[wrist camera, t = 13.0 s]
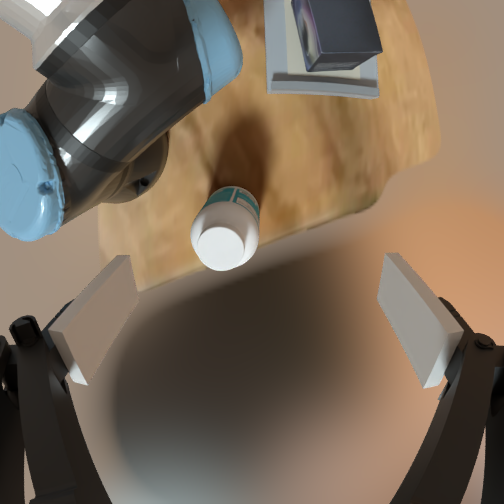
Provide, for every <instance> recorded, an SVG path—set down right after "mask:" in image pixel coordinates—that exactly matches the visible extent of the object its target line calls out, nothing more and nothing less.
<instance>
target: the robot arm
mask: <svg viewBox="0 0 504 504" xmlns="http://www.w3.org/2000/svg"><path fill="white" fill-rule="evenodd" d="M0 19H2V20H3V21H4V22H6V23H7V24H9V25H10V26H12V27H13V28H15V29H16V30H17V31H19V32H20V33H22V34H24V35H25V36H26V37H27V38H29V39H30V40H31V43H32V56H33V68H34V69H35V70H36V71H38V72H39V73H41V74H42V75H44V76H45V77H47V78H48V79H47V80H46V81H45V82H44V84H43V85H42V86H41V88H40V89H39V90H38V92H37V93H36V94H35V96H34V97H33V98H32V100H31V101H30V102H29V104H28V105H27V106H26V107H25V108H24V109H17V108H14V109H11V110H9V111H7V112H6V113H3V114H0V227H1V228H2V229H3V230H4V231H5V232H6V233H7V234H9V235H10V236H12V237H14V238H18V239H19V240H22V241H34V240H37V239H40V238H41V237H43V236H45V235H48V234H53V233H54V232H56V231H57V230H58V229H59V228H60V227H61V226H63V225H64V224H66V223H67V222H69V221H71V220H72V219H74V218H76V217H77V216H79V215H81V214H82V213H84V212H86V211H88V210H89V209H91V208H93V207H94V206H96V205H98V204H100V203H114V204H117V203H124V202H128V201H131V200H133V199H135V198H137V197H139V196H141V195H142V194H144V193H145V192H147V191H148V190H149V189H150V188H151V187H152V186H153V185H154V184H155V183H156V182H157V180H158V179H159V177H160V176H161V174H162V172H163V170H164V167H165V164H166V160H167V154H168V140H167V134H166V132H167V131H168V130H169V129H170V128H171V127H173V126H174V125H175V124H176V123H178V122H179V121H180V120H181V119H183V118H184V117H185V116H186V115H188V114H189V113H190V112H192V111H193V110H194V109H195V108H197V107H198V106H199V105H201V104H202V103H203V104H206V103H208V102H209V101H210V99H211V96H213V95H214V94H215V93H217V92H218V91H219V90H220V89H222V88H223V87H224V86H226V85H227V84H228V83H230V82H231V81H232V80H234V79H235V78H236V77H237V76H238V74H239V73H240V71H241V68H242V65H243V54H242V50H241V46H240V43H239V40H238V38H237V35H236V33H235V31H234V28H233V26H232V24H231V22H230V20H229V18H228V17H227V15H226V13H225V11H224V10H223V8H222V6H221V5H220V3H219V1H218V0H0ZM138 301H139V296H138V292H137V288H136V283H135V279H134V274H133V270H132V265H131V260H130V255H117V256H116V257H115V258H114V259H113V260H112V261H111V262H110V263H109V264H108V265H107V266H106V267H105V268H104V269H103V270H102V271H101V272H100V273H99V274H98V275H97V276H96V277H95V278H94V279H93V280H92V281H91V282H90V283H89V285H88V286H87V287H86V288H85V289H84V290H83V291H82V292H81V293H80V294H79V295H78V296H77V297H76V298H75V299H73V300H72V301H70V302H69V303H67V304H66V305H65V306H64V307H63V308H62V309H61V310H60V312H59V313H57V315H56V316H55V318H53V319H52V320H51V321H50V322H49V323H48V325H47V326H46V327H45V328H44V329H43V330H42V332H41V330H40V328H39V326H38V324H37V321H36V319H35V317H33V316H29V315H27V316H23V317H20V318H18V319H17V320H15V321H14V322H13V323H12V324H11V325H10V328H9V330H10V333H11V335H12V337H13V339H14V341H15V343H16V345H9V344H8V342H7V340H6V338H5V337H4V336H2V335H1V336H0V504H25V499H24V452H25V451H26V456H27V461H28V465H29V470H30V474H31V479H32V483H33V487H34V490H35V495H36V496H35V498H34V499H32V500H30V503H29V504H112V502H111V500H110V498H109V497H108V494H107V492H106V490H105V488H104V486H103V484H102V481H101V479H100V477H99V475H98V472H97V470H96V468H95V465H94V463H93V460H92V458H91V455H90V453H89V450H88V448H87V445H86V442H85V439H84V437H83V434H82V431H81V428H80V425H79V422H78V418H77V415H76V412H75V409H74V405H73V402H72V398H71V395H70V391H69V387H68V383H67V382H66V380H65V376H66V375H67V373H68V372H69V374H70V376H71V378H72V380H73V381H74V382H77V383H80V384H85V385H88V384H89V383H90V380H91V379H92V377H93V376H94V374H95V372H96V370H97V369H98V367H99V365H100V363H101V362H102V360H103V358H104V357H105V355H106V353H107V351H108V350H109V348H110V346H111V345H112V343H113V341H114V340H115V338H116V337H117V335H118V333H119V332H120V330H121V328H122V327H123V325H124V324H125V322H126V320H127V319H128V317H129V316H130V314H131V312H132V311H133V309H134V308H135V306H136V305H137V303H138ZM377 301H378V302H379V304H380V306H381V308H382V309H383V311H384V313H385V315H386V317H387V318H388V320H389V322H390V324H391V326H392V328H393V330H394V331H395V333H396V335H397V337H398V339H399V341H400V343H401V345H402V346H403V349H404V350H405V353H406V354H407V356H408V358H409V360H410V362H411V364H412V366H413V369H414V371H415V372H416V375H417V377H418V379H419V381H420V383H421V385H422V387H423V388H428V387H433V386H437V385H439V383H440V382H441V380H442V378H443V376H444V375H445V376H446V378H447V380H448V382H447V384H446V386H445V387H444V389H443V391H442V393H441V394H440V396H439V398H438V400H440V402H439V404H438V407H437V410H436V413H435V415H434V417H433V420H432V422H431V425H430V427H429V429H428V432H427V434H426V436H425V439H424V441H423V443H422V445H421V447H420V449H419V451H418V454H417V455H416V457H415V459H414V461H413V463H412V466H411V467H410V469H409V471H408V473H407V475H406V477H405V478H404V480H403V482H402V484H401V485H400V487H399V489H398V491H397V492H396V494H395V496H394V497H393V499H392V501H391V502H390V504H460V503H461V501H462V499H463V496H464V493H465V491H466V488H467V486H468V483H469V480H470V477H471V474H472V472H473V468H474V465H475V462H476V459H477V456H478V452H479V449H480V445H481V441H482V437H483V433H484V428H486V446H485V447H486V448H485V469H484V481H483V491H482V499H481V504H504V346H497V345H496V344H495V342H494V341H493V340H492V339H491V338H490V337H489V336H487V335H485V334H481V333H474V332H473V330H472V329H471V328H470V327H469V325H468V324H467V323H466V322H465V321H464V319H463V318H462V317H460V314H459V313H458V312H457V311H456V309H455V308H454V307H453V306H452V305H451V304H450V303H449V302H448V301H446V300H445V299H443V298H442V297H437V296H436V295H435V294H434V293H433V291H432V290H431V289H430V288H429V287H428V286H427V284H426V283H425V282H424V281H423V280H422V279H421V278H420V276H419V275H418V274H417V273H416V272H415V271H414V270H413V269H412V267H411V266H410V265H409V264H408V263H407V262H406V261H405V260H404V259H403V258H402V256H401V255H400V254H399V253H385V257H384V263H383V269H382V274H381V280H380V286H379V290H378V296H377ZM2 382H3V383H4V385H5V388H4V390H3V386H2Z"/></svg>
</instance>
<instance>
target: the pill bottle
mask: <svg viewBox="0 0 504 504" xmlns="http://www.w3.org/2000/svg"><path fill="white" fill-rule="evenodd" d="M191 242H192V246H193V248H194V250H195V252H196V253H197V255H198V256H199V258H200V260H201V261H202V262H203V263H204V264H205V265H206V266H207V267H209V268H211V269H214V270H218V271H225V270H229V269H232V268H234V267H237V266H239V265H242V264H244V263H245V262H246V261H248V260H249V259H250V258H251V256H252V255H253V254H254V252H255V251H256V249H257V246H258V242H259V206H258V203H257V201H256V199H255V198H254V196H253V195H252V194H251V193H250V192H248V191H247V190H245V189H243V188H241V187H237V186H227V187H223V188H220V189H218V190H217V191H215V192H214V193H213V194H212V195H211V196H210V197H209V199H208V200H207V202H206V203H205V205H204V206H203V208H202V209H201V210H200V212H199V213H198V215H197V216H196V218H195V219H194V221H193V224H192V227H191Z"/></svg>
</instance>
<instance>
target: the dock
mask: <svg viewBox="0 0 504 504" xmlns="http://www.w3.org/2000/svg"><path fill="white" fill-rule="evenodd" d="M369 1H370V0H369ZM370 5H371V1H370ZM264 21H265V46H266V74H267V94H315V95H331V96H344V97H354V98H364V99H375V98H379V88H378V70H377V55H375V56H373V57H372V58H370V59H369V60H367V61H365V62H364V63H362V64H360V65H359V66H357V67H356V68H354V69H353V70H338V71H321V72H307V71H306V67H305V62H304V57H303V53H302V48H301V43H300V39H299V35H298V30H297V26H296V22H295V18H294V14H293V10H292V6H291V0H264Z"/></svg>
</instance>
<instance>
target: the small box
mask: <svg viewBox="0 0 504 504" xmlns="http://www.w3.org/2000/svg"><path fill="white" fill-rule="evenodd" d="M291 6H292V10H293V14H294V18H295V22H296V26H297V30H298V35H299V39H300V43H301V48H302V53H303V57H304V62H305V67H306V71H307V72H321V71H338V70H353V69H354V68H356V67H357V66H359V65H360V64H362V63H364V62H365V61H367V60H369V59H370V58H372V57H373V56H375V55H377V54H380V53H382V52H383V50H382V45H381V41H380V37H379V33H378V29H377V26H376V22H375V18H374V15H373V11H372V8H371V5H370V1H369V0H291Z"/></svg>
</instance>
